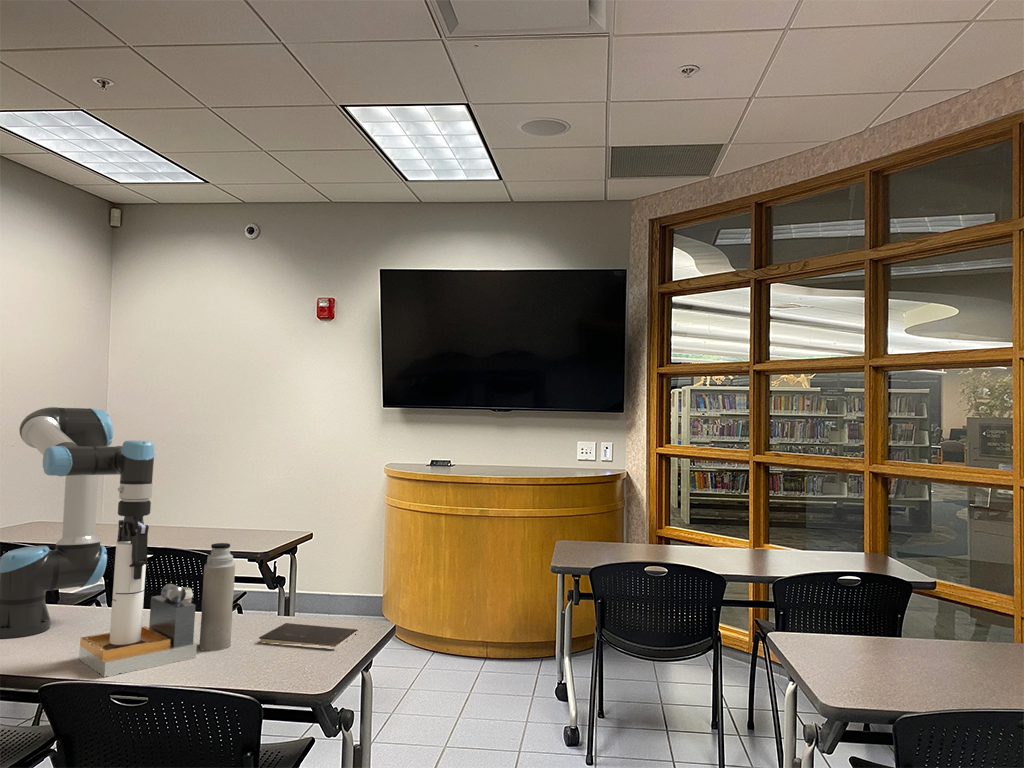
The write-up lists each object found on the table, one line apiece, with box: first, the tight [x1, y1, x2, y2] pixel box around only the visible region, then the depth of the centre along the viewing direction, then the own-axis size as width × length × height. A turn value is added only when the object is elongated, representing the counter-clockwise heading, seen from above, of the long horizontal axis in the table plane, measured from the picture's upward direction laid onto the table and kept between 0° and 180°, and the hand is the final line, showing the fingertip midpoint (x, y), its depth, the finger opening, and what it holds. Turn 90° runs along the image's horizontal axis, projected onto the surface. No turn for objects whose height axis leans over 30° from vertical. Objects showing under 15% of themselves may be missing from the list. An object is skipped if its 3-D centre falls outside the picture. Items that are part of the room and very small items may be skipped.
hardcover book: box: [258, 622, 359, 647], centre depth 205 cm, size 16×23×2 cm
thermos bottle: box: [199, 542, 236, 651], centre depth 197 cm, size 8×8×28 cm
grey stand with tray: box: [78, 583, 198, 678], centre depth 184 cm, size 18×22×18 cm
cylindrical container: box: [109, 541, 147, 645], centre depth 183 cm, size 7×7×25 cm
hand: (128, 589), depth 183 cm, fingers closed on cylindrical container, 7 cm apart
